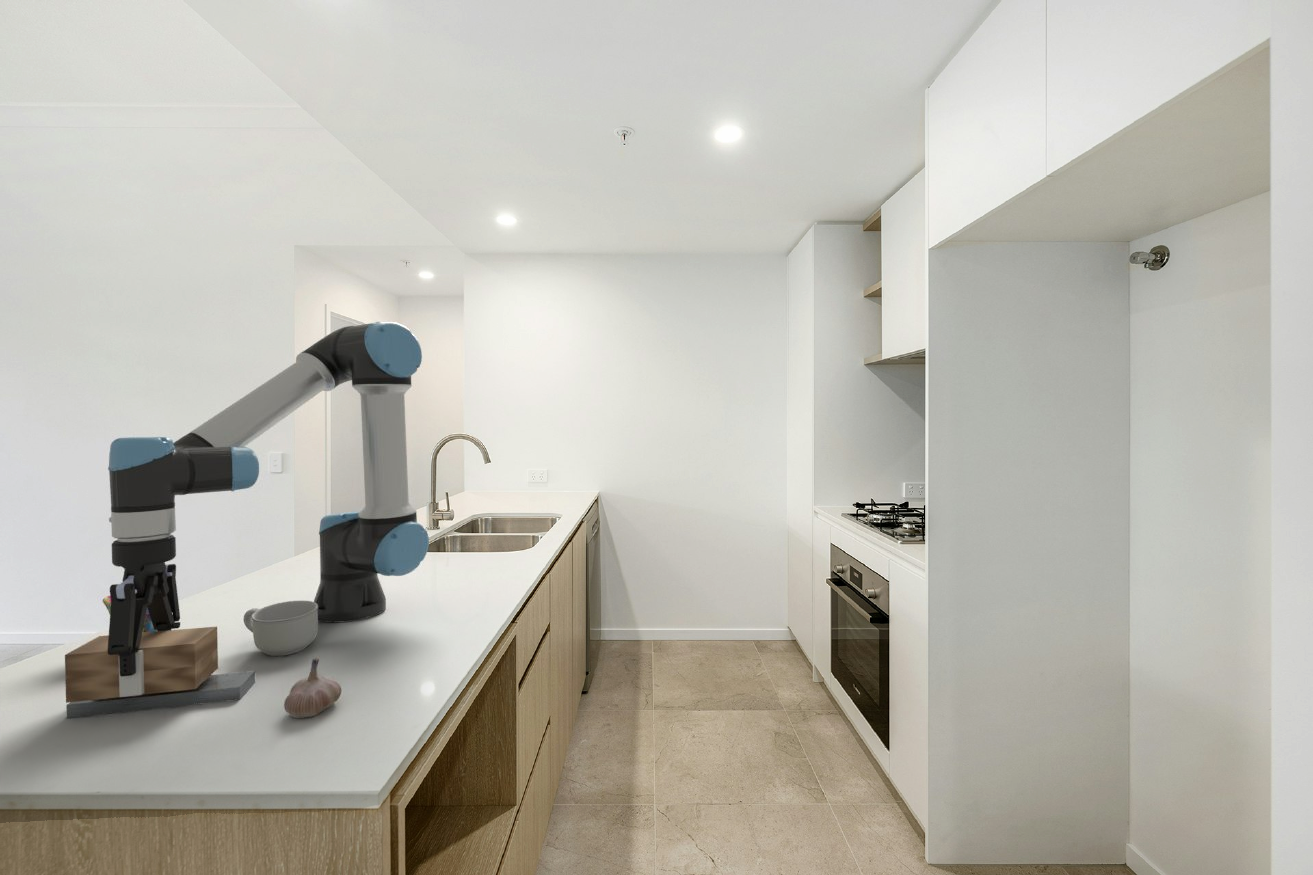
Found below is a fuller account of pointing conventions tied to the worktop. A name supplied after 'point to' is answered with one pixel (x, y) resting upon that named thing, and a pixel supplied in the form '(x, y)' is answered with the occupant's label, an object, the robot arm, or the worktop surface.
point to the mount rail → (170, 696)
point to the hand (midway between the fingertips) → (148, 682)
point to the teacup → (283, 626)
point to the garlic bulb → (312, 694)
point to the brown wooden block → (167, 664)
